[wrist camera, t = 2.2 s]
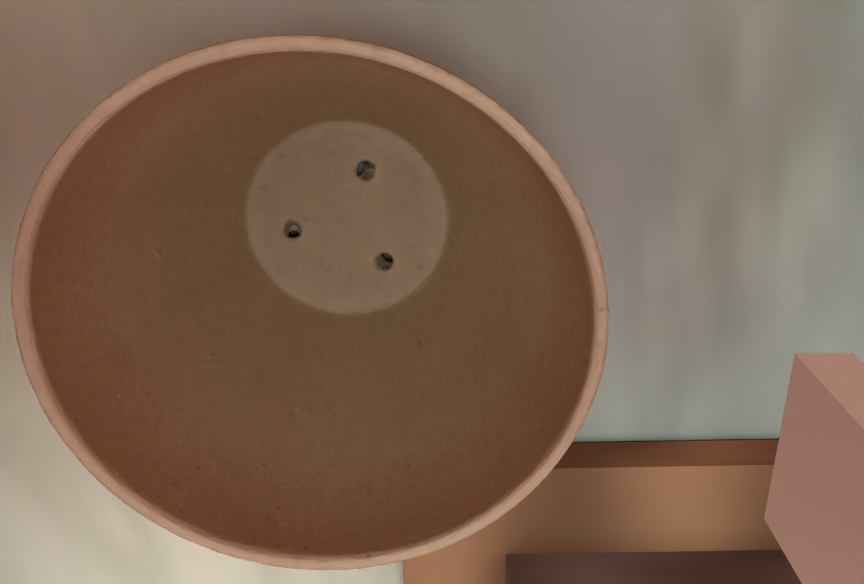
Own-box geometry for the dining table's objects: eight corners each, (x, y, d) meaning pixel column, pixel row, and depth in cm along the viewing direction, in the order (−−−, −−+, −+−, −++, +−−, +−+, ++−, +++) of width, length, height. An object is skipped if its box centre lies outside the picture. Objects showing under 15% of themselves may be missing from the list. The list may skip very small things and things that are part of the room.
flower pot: (386, 446, 22) (368, 649, 16) (80, 241, 20) (-93, 382, 13) (631, 188, 19) (736, 308, 13) (307, -94, 17) (228, -126, 10)
